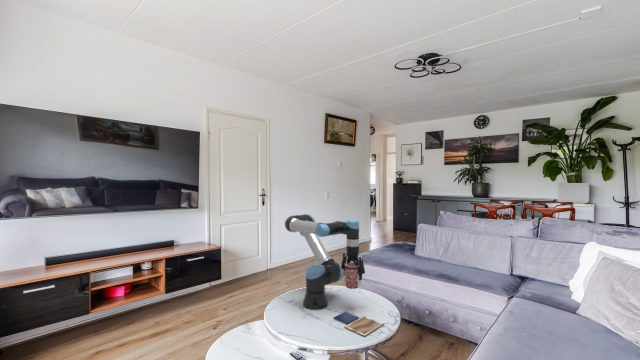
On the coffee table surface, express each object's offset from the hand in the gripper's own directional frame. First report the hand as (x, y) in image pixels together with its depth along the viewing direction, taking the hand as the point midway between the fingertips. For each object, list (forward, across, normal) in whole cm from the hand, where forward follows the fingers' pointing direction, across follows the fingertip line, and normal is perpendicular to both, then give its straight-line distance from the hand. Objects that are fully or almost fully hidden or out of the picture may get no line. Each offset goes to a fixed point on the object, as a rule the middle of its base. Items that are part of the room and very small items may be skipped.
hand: (352, 282), depth 173 cm
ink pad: (+15, +6, -13) cm, 21 cm away
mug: (+2, 0, 0) cm, 2 cm away
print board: (+15, +18, -13) cm, 27 cm away
